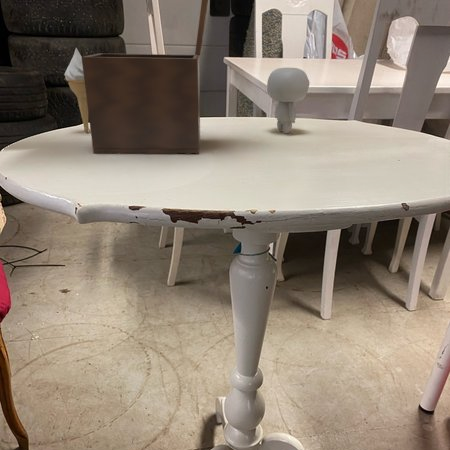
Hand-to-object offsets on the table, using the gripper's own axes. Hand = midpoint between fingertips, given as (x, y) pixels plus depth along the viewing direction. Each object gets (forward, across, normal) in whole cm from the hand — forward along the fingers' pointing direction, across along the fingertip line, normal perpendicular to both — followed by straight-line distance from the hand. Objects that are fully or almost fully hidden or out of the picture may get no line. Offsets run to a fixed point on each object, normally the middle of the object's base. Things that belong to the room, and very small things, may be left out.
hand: (219, 16), depth 74 cm
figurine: (+20, +14, -14) cm, 28 cm away
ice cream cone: (+20, +12, +26) cm, 35 cm away
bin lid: (-4, 0, +2) cm, 5 cm away
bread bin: (+20, 0, +12) cm, 23 cm away
